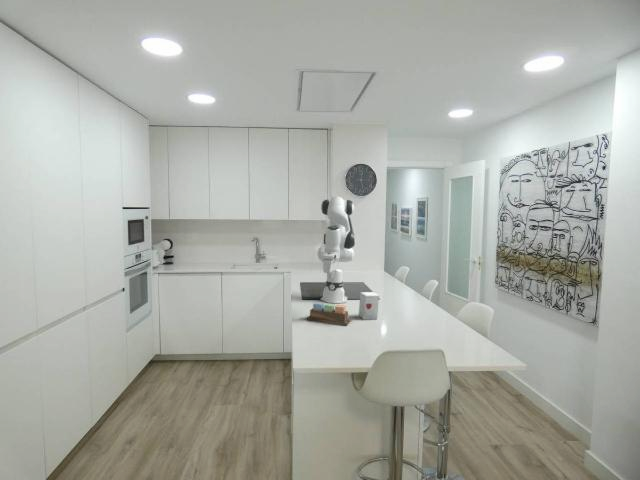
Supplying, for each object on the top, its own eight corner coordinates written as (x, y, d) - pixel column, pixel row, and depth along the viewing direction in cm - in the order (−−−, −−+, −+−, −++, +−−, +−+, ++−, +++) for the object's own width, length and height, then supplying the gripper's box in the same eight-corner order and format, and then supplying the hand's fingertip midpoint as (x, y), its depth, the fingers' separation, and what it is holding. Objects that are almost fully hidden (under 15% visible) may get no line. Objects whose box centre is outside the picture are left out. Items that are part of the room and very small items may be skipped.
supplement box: (363, 320, 236) (365, 295, 234) (358, 315, 244) (359, 291, 243) (377, 319, 238) (379, 295, 237) (372, 315, 247) (373, 291, 246)
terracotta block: (336, 312, 231) (337, 304, 231) (345, 314, 230) (345, 305, 229) (334, 315, 226) (335, 306, 226) (343, 316, 225) (343, 307, 225)
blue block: (315, 310, 235) (315, 301, 235) (323, 311, 234) (323, 302, 233) (312, 312, 230) (313, 303, 230) (321, 313, 229) (321, 304, 228)
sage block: (326, 311, 233) (326, 303, 233) (334, 312, 232) (334, 304, 231) (323, 313, 228) (324, 305, 228) (332, 314, 227) (332, 306, 226)
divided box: (311, 316, 239) (312, 306, 238) (350, 321, 232) (351, 311, 231) (306, 320, 229) (306, 310, 229) (346, 326, 222) (347, 315, 222)
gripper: (331, 252, 238) (330, 275, 239) (321, 256, 218) (320, 280, 220) (341, 253, 236) (340, 276, 237) (332, 257, 217) (331, 281, 218)
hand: (330, 278), depth 228 cm, fingers closed
